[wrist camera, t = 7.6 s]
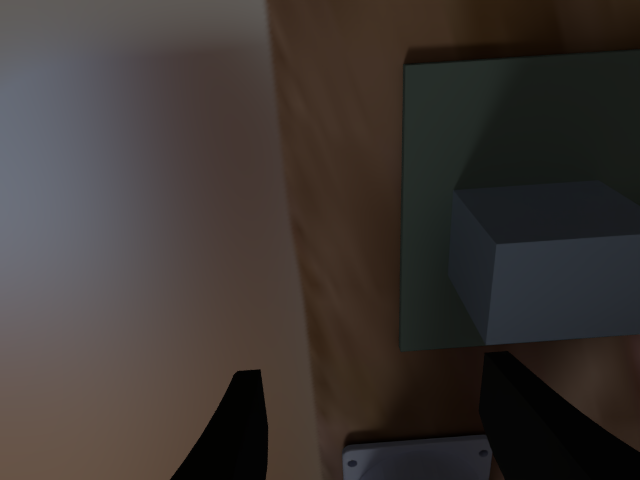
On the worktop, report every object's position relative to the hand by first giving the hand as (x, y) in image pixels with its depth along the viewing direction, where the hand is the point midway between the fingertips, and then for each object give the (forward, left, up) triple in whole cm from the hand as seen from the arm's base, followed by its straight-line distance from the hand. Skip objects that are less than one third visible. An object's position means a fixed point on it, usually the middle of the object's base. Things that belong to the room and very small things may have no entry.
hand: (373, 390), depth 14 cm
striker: (0, -7, -9) cm, 12 cm away
